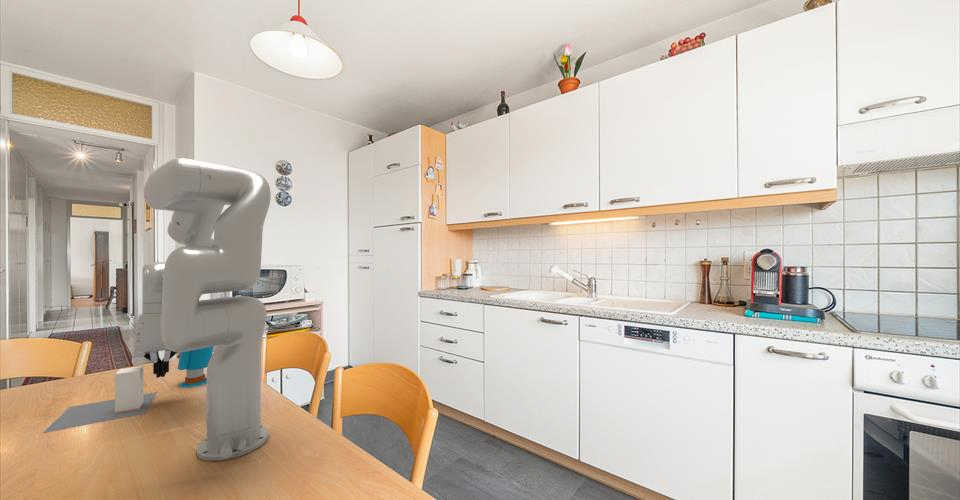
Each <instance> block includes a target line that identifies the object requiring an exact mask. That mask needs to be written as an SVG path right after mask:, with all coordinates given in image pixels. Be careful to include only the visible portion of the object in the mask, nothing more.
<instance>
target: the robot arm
mask: <svg viewBox="0 0 960 500" xmlns="http://www.w3.org/2000/svg"><path fill="white" fill-rule="evenodd" d="M271 193H272V192H271V187H270V184H269V183H268V180H267V179H266V177H264V176H263V175H262V174H260V173H258V172H256V171H253V170H248V169H245V168H242V167H241V168H240V167H238V166H237V167H236V166H232V165H227V164H220V163H219V164H218V163H213V162H208V161H202V160H197V159H191V158H184V157H178V158H173V159H171V160H169V161H167V162H165V163H164V164H162V165H161V166H159V167H158V168H156V169H155V170H153V172H151V174H150V175H149V177H147V179H146V181H145V184H144V188H143V198H144V201H145V203H146V205H147V206H148V207H149V208H151V209H153V210H156V211H167V212H169V211H170V212H172V215H171V218H170V221H169V223H168V226H167V234H168V236H169V237H170V238H171V239H172V240H173V241H174V242H176V243H178V244H180V245H182V246H181V247H178V248H175V249H174V250H173V251H172V252H171V253H170V254H169V255H168V256H167V258H166V261H161V262H160V261H157V262H156V261H153V262H147V263H145V264H144V265H143V266H142V281H141V282H142V283H141V284H142V286H141V287H142V288H141V289H142V291H141V293H142V295H141V297H142V298H141V301H142V302H141V303H142V305H141V306H142V308H141V309H142V311H141V312H142V313H140V314H138V318H137V321H136V326H135V327H136V328H135V333H134V334H135V335H134V352H133V358H134V357H135V358H142V359H143V358H144V359H146V360H148V361H150V362H151V363H152V364H153V365H152V366H153V367H152V368H153V370H152V374H153V375H155V378H156V379H158V378H160V377H162V378H164V377H165V376H166V375H167V373H169V372H170V360H171V359H172V358H173V357H174V356H175V355H176V354H177V355H178V354H179V353H181V352H186V351H192V350H197V349H202V348H207V347H211V346H213V347H215V346H217V347H216V349H215V350H214V351H213V352H212V356H211V358H210V360H209V363H208V366H207V367H206V378H207V383H206V438H205V439H203V440H202V441H201V442H200V443H199V444H198V445H197V448H196V456H197V458H199V459H200V460H203V461H207V462H216V461H224V460H225V461H226V460H229V459H235V458H238V457H241V456H243V455H246V454H248V453H251V452H253V451H255V450H257V449H258V448H260V447H261V446H263V444H265V443H266V442H267V440H268V439H269V436H270V431H269V428H267V427H266V426H264V425H262V424H261V422H262V421H261V420H262V419H261V418H262V416H261V415H262V413H261V412H262V411H261V409H262V407H261V406H262V405H261V404H262V403H261V399H262V396H261V395H262V391H261V389H262V388H261V387H262V348H263V347H262V346H263V345H262V344H263V338H264V333H265V332H264V331H265V329H266V324H267V308H266V307H265V304H264V303H263V302H262V301H261V300H260V299H258V298H257V297H254V296H247V295H240V296H239V295H238V296H228V297H217V298H213V299H201V297H202V296H203V295H206V294H217V293H229V292H239V291H244V290H249V289H251V288H253V287H255V286H256V285H257V284H258V283H259V280H260V276H261V267H262V254H263V253H262V251H263V233H264V232H263V231H264V224H265V221H266V217H267V214H268V211H269V208H270V205H271V199H272V197H271V196H272V195H271ZM225 206H227V208H226V209H225V210H224V207H225ZM223 210H224V211H223ZM212 236H213V237H212ZM163 351H164V354H163V358H162V359H161V358H160V354H159V352H163Z"/></svg>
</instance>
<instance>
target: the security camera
mask: <svg viewBox="0 0 960 500" xmlns="http://www.w3.org/2000/svg"><path fill="white" fill-rule="evenodd" d="M213 353H214V346H211V347H207V348H202V349H197V350H192V351H186V352H181V353H177V356H176V358H177V359H178V363H177V370H179V371H184V370H185V371H186V373H185V374H186V376H185V378H184V381H183V382H181V383H179V385H178V386H179V388H194V387H198V386H199V387H200V386H202V385H205V384H206V385H207V377H206V374H205V373H204V371H205V369H207V366H208V363H209V360H210V358H211V356H212V355H213Z"/></svg>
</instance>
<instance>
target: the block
mask: <svg viewBox="0 0 960 500" xmlns="http://www.w3.org/2000/svg"><path fill="white" fill-rule="evenodd" d="M144 370H145V369H144V365H141V366H140V365H139V366H133V367H126V368H120V369H119V370H118V371H116V372H115V373H114V399H115V414H118V413H123V412H128V411H134V410H139V409H140V408H141V406H142V405H143V394H144V374H145V373H144Z"/></svg>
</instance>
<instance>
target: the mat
mask: <svg viewBox="0 0 960 500" xmlns="http://www.w3.org/2000/svg"><path fill="white" fill-rule="evenodd" d="M157 394H158V391H157V392H149V393H143V405H142V406H141V408H140V409H139V410H134V411H128V412H123V413H118V414H115V398H114V399H108V400H103V401H96V402H91V403H86V404H85V403H84V404H78V405H73V406H70V407H68V408H67V409H66V410H65V411H64V412H63V413H62V414H61V415H60V416H59V417H58V418H57V419H55V420H54V422H53V423H51V424H50V425H49V426H48V427H46V429H45V430H44V431H43V432H42V434H45V433H51V432H56V431H60V430H66V429H72V428H77V427H82V426H86V425H92V424H98V423H103V422H108V421H113V420H118V419H119V420H120V419H124V418H130V417H134V416H139V415H145V414H147V412H148V410H149V409H150V406H151V405H152V403H153V401H154V399H155V397H156V396H157Z"/></svg>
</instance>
